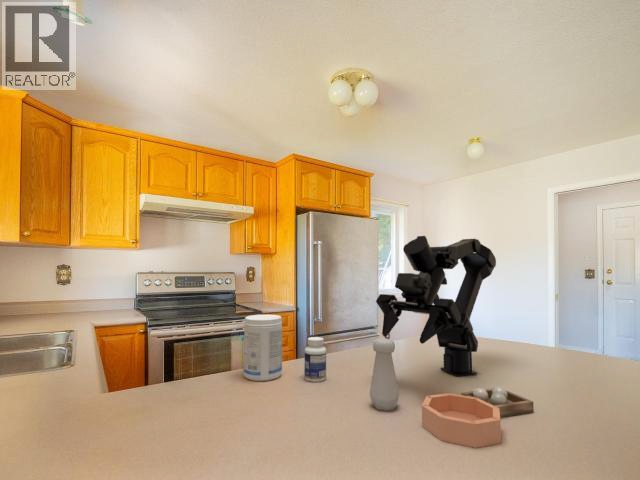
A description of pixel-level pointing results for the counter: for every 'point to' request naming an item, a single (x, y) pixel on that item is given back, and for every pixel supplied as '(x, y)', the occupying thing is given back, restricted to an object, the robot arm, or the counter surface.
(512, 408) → the pebble tray
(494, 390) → the white ball
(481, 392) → the pebble
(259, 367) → the supplement tub
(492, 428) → the bowl
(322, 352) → the pill bottle
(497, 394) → the pebble
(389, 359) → the salt shaker
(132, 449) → the counter surface
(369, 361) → the counter surface
